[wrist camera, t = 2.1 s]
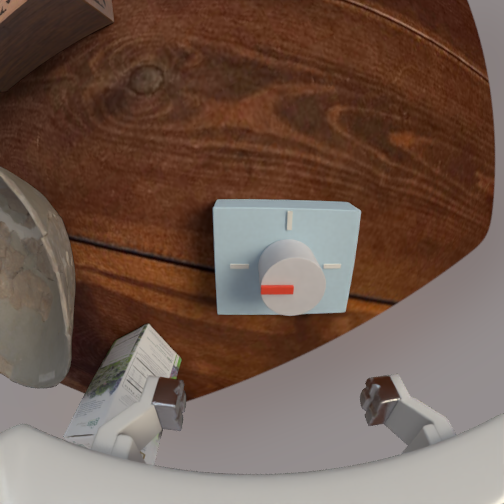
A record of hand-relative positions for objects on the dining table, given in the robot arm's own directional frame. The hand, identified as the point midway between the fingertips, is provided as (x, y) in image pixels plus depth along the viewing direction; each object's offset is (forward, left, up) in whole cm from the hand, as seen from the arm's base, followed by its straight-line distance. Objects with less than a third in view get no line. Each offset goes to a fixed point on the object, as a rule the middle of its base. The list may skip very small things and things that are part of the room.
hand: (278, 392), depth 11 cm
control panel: (-2, -1, -15) cm, 15 cm away
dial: (-2, -1, -12) cm, 12 cm away
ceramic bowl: (+24, -1, -15) cm, 29 cm away
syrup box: (+12, +11, -15) cm, 22 cm away
